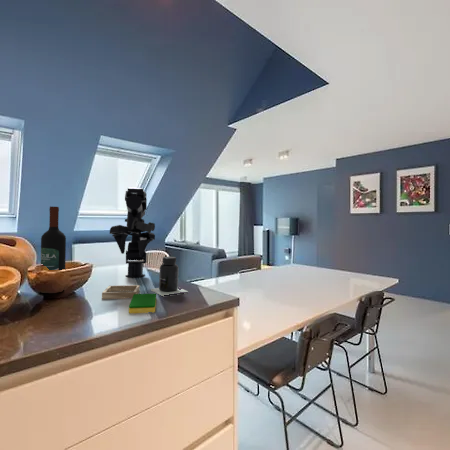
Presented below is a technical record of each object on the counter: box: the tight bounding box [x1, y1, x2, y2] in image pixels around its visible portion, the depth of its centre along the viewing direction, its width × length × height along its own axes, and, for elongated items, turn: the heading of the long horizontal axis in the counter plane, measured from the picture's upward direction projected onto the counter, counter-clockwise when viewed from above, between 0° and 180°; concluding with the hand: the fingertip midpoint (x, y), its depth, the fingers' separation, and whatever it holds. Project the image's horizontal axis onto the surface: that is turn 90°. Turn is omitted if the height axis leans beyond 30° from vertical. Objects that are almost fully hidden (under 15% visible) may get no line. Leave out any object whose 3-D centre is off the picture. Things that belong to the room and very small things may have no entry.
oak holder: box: [101, 284, 141, 300], centre depth 99 cm, size 11×11×2 cm
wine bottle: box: [40, 206, 67, 270], centre depth 101 cm, size 8×8×30 cm
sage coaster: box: [150, 287, 189, 297], centre depth 105 cm, size 10×10×1 cm
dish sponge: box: [128, 293, 157, 314], centre depth 87 cm, size 7×14×2 cm, turn 12°
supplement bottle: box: [158, 256, 179, 292], centre depth 105 cm, size 7×7×12 cm
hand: (132, 255), depth 113 cm, fingers open, 9 cm apart
